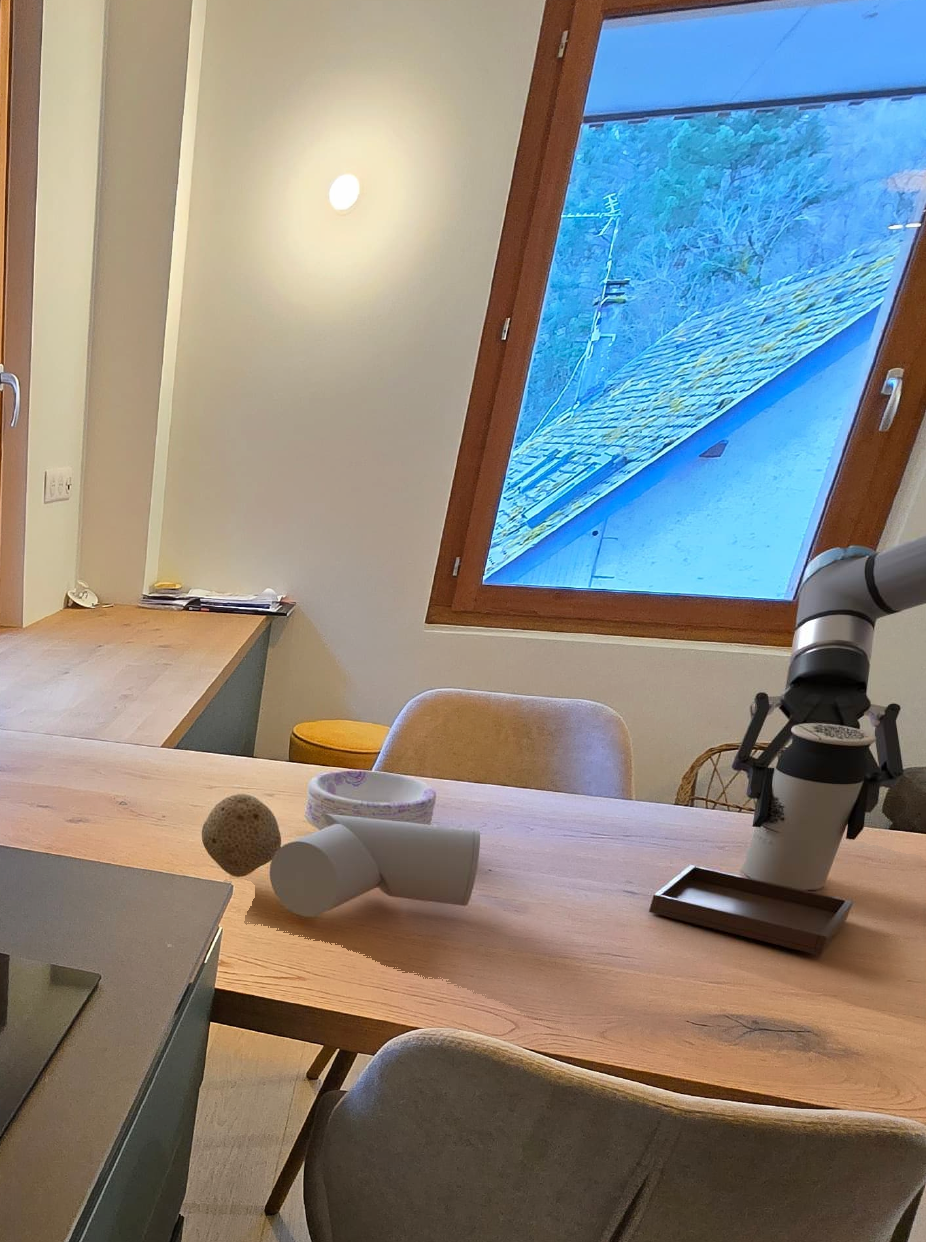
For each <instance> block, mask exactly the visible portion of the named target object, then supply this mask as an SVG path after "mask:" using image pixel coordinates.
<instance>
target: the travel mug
mask: <svg viewBox="0 0 926 1242" xmlns="http://www.w3.org/2000/svg"><path fill="white" fill-rule="evenodd" d="M791 731H792V733H793V738H792V739H791V743H790V744H789V745H788V746H787V747H786V748H784V749H783V750H782V751H781V752H780V753H779V755H778V756H779V757H778V759H777V762H776V765H775V767H774V768H775V769H774V774H773V780H772V789H771V796H770V802H769V809H768V816H767V818H766V819H765V821H764V822H763V824H762V826H761V827H754V831H753V833H752V836H751V839H750V842H749V845H748V847H747V848H748V849H747V851H746V855H745V857H744V860H743V864H742V866H741V871H742V873H743V874H744V875H745V876H746V877H747V878H751V879H756V880H760V881H765V882H769V883H774V884H778V885H783V886H787V887H792V888H796V889H801V890H805V891H811V890H813V891H814V890H819V889H821V888H823V887H824V886H825V884H826V882H827V879H828V877H829V873H830V872H831V869H832V866H833V864H834V860H835V859H836V855H837V853H838V850H839V847H840V844H841V842H842V840H843V836H844V835H845V834H844V833H845V831H846V830H847V826H848V821H849V818H850V816H851V813H852V810H853V808H854V805H855V802H856V800H857V797H858V794H859V792H860V789H861V786H862V784H863V781H864V779H865V776H866V773H867V771H868V768H869V765H868V761H867V757H866V754H865V753H866V752H867V750H868V748H869V749H870V747H871V745H873V744H874V743H876V742H875V741H876V737H875V734H874V733H872V732H870V731H868V730H867V731H866V730H863V729H861V728H860V729H856V728H852V727H846V726H840V725H832V724H820V723H806V724H798V725H795V726H793V727H792V729H791Z"/></svg>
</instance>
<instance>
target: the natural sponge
mask: <svg viewBox="0 0 926 1242" xmlns="http://www.w3.org/2000/svg"><path fill="white" fill-rule="evenodd" d="M201 841H202V845H203V847H204V849H205V851H206V852H207V854H208V855H209V857H210V858H211V859H212V860H213V861H214V862H215V863H216V864H217V865H218V866H219V867H220V868H221V869H222V870H223V871H224V872H226V873H227V874H228V875H230V876H232V877H235V878H240V877H245V876H248V875H250V874H251V873H253V872H255V871H256V870H257V869H259V868H260V867H262V866H264V865H266V864H268V863H271V861H272V859H273V856H274V855H275V853H276V852H277V851H278V849H280V848H281V847H282V835H281V832H280V829H279V824H278V821H277V819H276V816H275V814H274V813H273V812H272V810H271V808H269V807H268V806H267V805H266V804H265V803H263V802H262V801H261V800H259V799H258V798H257V797H255V796H252V795H250V794H245V793H244V794H243V793H237V794H233V795H230V796H227V797H225V798H224V799H222V800H221V801H220V802H218V803H217V804H216V805H215V806H214V807H213V808H212V810H211V811H210V812H209V814H208V816H207V818H206V820H205V822H204V823H203V825H202V829H201Z"/></svg>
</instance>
